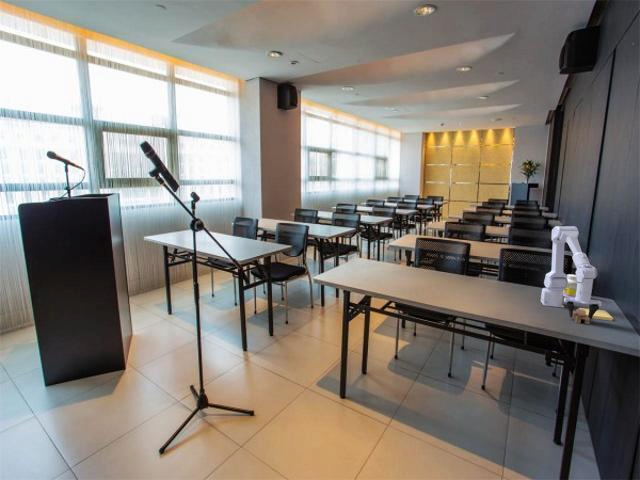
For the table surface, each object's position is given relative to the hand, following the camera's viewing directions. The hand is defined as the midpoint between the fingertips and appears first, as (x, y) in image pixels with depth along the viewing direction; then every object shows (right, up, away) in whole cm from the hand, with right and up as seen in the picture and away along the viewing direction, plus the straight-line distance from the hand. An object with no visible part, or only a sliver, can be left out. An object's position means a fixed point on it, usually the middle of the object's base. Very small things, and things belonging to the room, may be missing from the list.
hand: (580, 317), depth 166 cm
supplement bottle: (+19, +5, +33) cm, 38 cm away
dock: (+12, 0, +6) cm, 13 cm away
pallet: (0, -2, 0) cm, 2 cm away
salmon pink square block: (0, +2, 0) cm, 2 cm away
